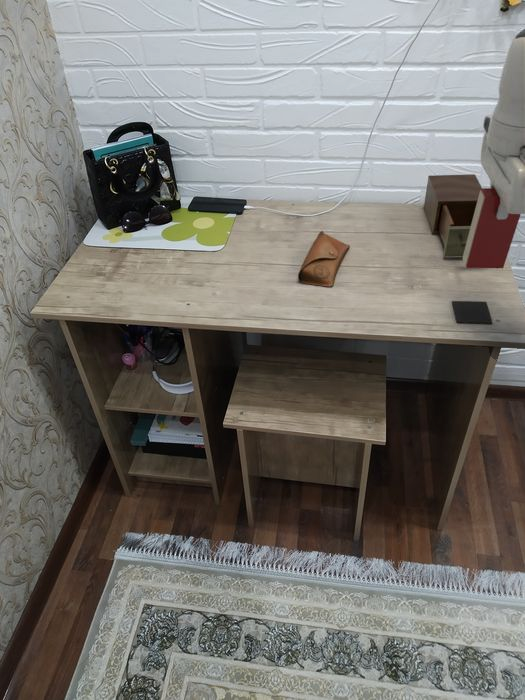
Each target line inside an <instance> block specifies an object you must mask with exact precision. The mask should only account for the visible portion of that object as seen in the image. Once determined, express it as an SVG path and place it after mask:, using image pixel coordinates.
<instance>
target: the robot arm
mask: <svg viewBox="0 0 525 700" xmlns="http://www.w3.org/2000/svg"><path fill="white" fill-rule="evenodd" d="M482 127H483V129H484V131H483V136H482V145H481V148H480V149H481V150H480V164H481V166H482V168H483V170H484V171H485V173H486V175H487V177H488V179H489V180H490V181H489V188H495V190H496V191H497V193H498V195H499V197H500V202H501V203H500V205H499V207H497V208H496V212H495V215H496V217H497V219H506V218H507V217H508V213H510V214H521V215H524V214H525V28H523V29H522V30H520V32H519V33H517V34H516V36H514V38H513V39H512V41H511V43H510V45H509V47H508V50H507V53H506V57H505V60H504V63H503V67H502V70H501V75H500V79H499V83H498V100H497V103H496V105H495V107H494V109H493V111H492V114H486V115H485V116H484V120H483V123H482Z"/></svg>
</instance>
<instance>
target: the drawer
mask: <svg viewBox="0 0 525 700" xmlns="http://www.w3.org/2000/svg"><path fill="white" fill-rule="evenodd" d="M476 205H477V203H472V204H442V207H441V212H440V218H439V224H438V230H439V232H440V238H441V241H442V244H443V247H444V249H443V257H444V258H447V257H448V258H449V257H451V258H452V257H463V254H464V250H465V247H466V243H467V239H468V235H469V231H470V228H471V224H472V220H473V216H474V212H475V209H476Z"/></svg>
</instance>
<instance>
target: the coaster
mask: <svg viewBox="0 0 525 700" xmlns="http://www.w3.org/2000/svg"><path fill="white" fill-rule="evenodd" d="M451 305H452V309H453V314H454V317H455V318H454V319H455V322H456V324H469V325H471V324H475V325H493V319H492V316H491V313H490V309H489V306H488V303H487V301H482V300H481V301H479V300H478V301H476V300H475V301H474V300H452V301H451Z"/></svg>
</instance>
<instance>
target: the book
mask: <svg viewBox="0 0 525 700" xmlns="http://www.w3.org/2000/svg"><path fill="white" fill-rule="evenodd" d="M500 203H501V202H500V197H499V195H498V193H497V191H496V190H495V188H490V187H488V188H487V187H485V188H484V187H482V189H481V190H480V193H479V197H478V201H477V205H476V209H475V212H474V216H473V220H472V224H471V228H470V231H469V235H468V239H467V243H466V247H465V250H464V254H463V256H462V261H463V264H464V266H465V268H466V269H504V267H505V264H506V261H507V257H508V256H509V252H510V249H511V245H512V242H513V239H514V236H515V233H516V231H517V226H518V224H519V221H520V218H521V215H522V214H510V213H508V217H507V218H506V219H497V217H496V215H495V212H496V208H497V207H499V205H500Z"/></svg>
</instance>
